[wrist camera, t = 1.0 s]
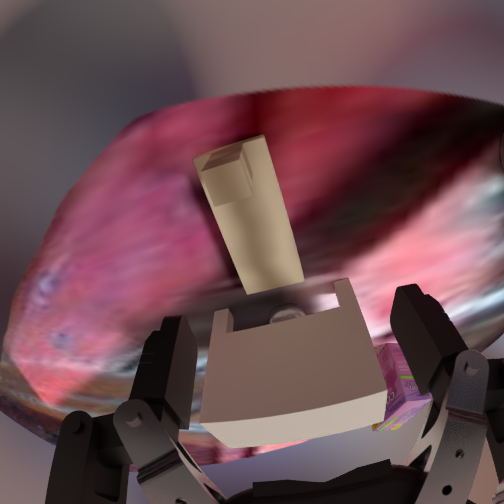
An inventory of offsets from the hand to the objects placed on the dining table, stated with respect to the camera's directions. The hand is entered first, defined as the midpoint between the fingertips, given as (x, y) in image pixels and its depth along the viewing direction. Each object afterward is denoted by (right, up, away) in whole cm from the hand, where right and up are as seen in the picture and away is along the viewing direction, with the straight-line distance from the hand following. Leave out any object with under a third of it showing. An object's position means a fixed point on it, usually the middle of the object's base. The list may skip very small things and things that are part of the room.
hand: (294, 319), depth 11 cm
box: (+22, -17, +35) cm, 45 cm away
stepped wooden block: (-1, +6, +21) cm, 22 cm away
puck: (+3, -6, +29) cm, 30 cm away
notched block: (+3, -6, +29) cm, 29 cm away
